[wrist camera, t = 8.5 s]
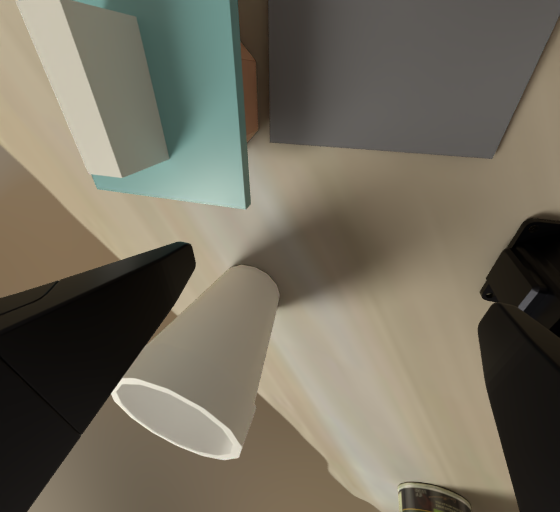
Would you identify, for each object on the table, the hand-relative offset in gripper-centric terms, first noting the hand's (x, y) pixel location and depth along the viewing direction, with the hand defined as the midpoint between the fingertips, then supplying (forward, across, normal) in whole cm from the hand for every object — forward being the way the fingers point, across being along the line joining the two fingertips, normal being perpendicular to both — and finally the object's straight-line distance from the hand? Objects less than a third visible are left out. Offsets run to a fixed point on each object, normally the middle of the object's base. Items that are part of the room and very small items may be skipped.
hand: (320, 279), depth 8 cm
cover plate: (+7, +11, -4) cm, 14 cm away
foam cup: (+12, +8, +13) cm, 19 cm away
